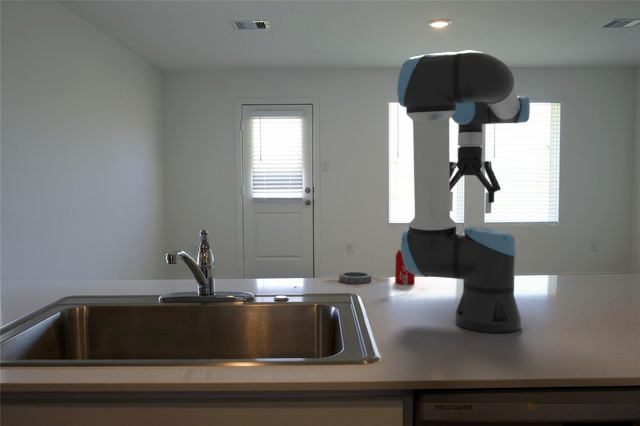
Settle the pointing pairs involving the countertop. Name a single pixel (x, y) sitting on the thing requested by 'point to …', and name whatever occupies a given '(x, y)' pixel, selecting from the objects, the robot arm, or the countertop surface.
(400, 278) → the soda can
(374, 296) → the countertop surface
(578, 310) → the countertop surface
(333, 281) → the walnut base board
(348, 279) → the gray segmented ring
